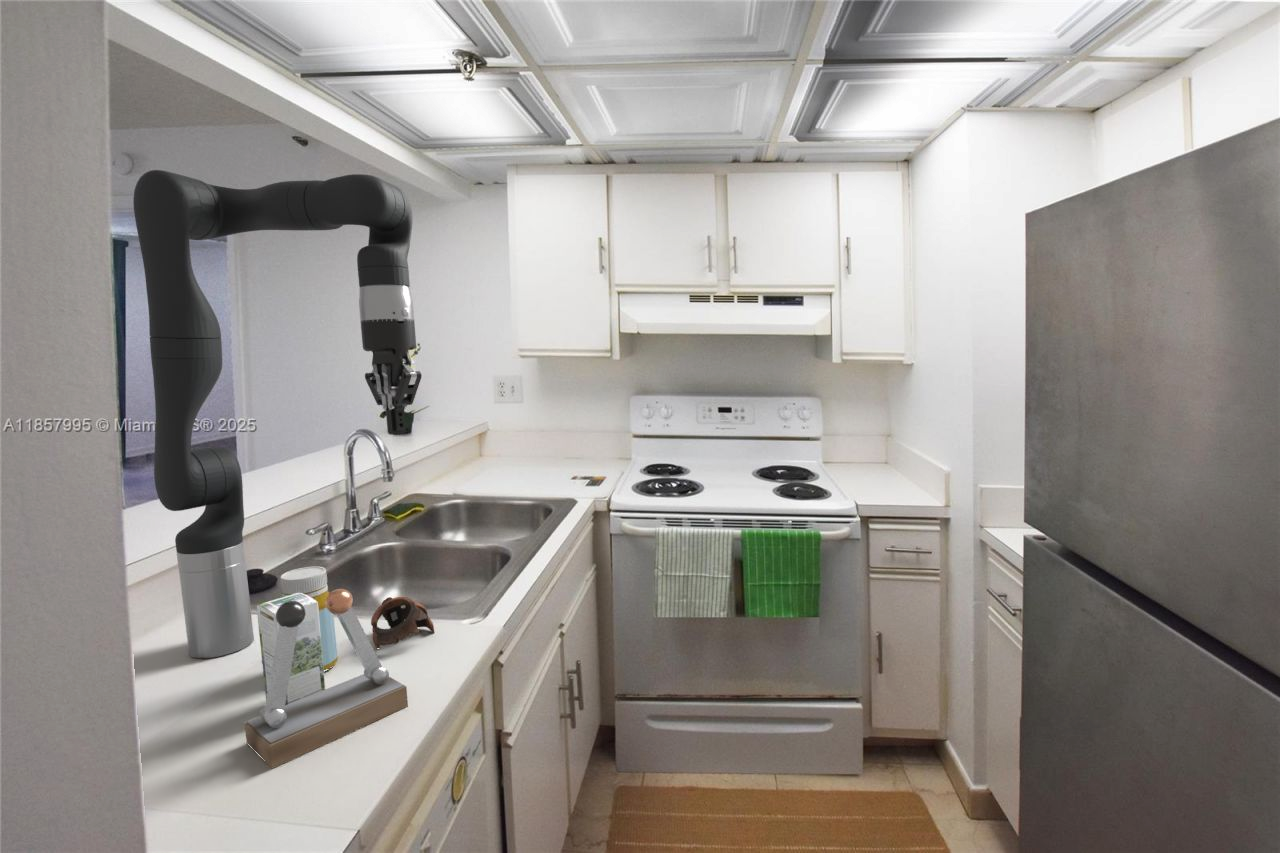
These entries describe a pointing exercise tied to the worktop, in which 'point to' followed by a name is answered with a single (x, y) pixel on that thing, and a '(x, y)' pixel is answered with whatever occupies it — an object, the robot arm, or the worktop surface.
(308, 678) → the syrup box
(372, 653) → the lever terracotta
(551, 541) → the worktop surface
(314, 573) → the bottle
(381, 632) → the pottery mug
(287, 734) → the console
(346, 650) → the worktop surface
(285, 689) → the lever black
